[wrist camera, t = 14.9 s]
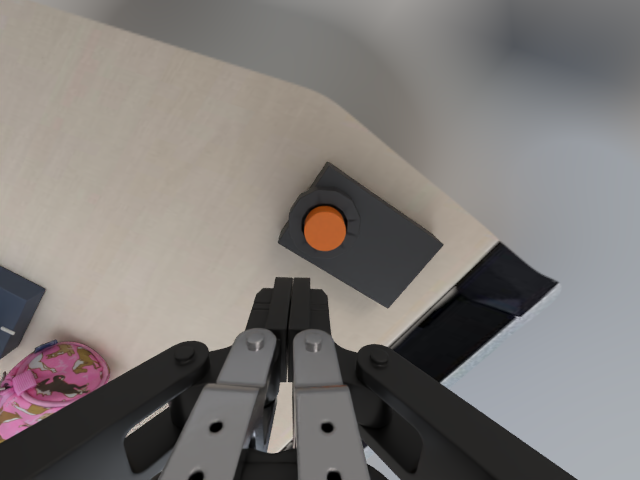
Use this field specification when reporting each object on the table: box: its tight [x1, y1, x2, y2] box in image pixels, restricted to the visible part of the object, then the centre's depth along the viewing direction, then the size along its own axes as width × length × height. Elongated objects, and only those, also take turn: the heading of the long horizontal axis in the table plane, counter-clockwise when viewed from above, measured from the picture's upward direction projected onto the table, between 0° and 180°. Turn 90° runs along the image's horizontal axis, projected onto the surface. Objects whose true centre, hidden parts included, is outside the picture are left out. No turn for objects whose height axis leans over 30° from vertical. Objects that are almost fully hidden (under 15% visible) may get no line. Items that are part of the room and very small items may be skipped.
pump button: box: [304, 206, 346, 251], centre depth 27 cm, size 4×4×2 cm
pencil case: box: [0, 340, 110, 443], centre depth 36 cm, size 21×9×9 cm, turn 140°
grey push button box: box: [278, 162, 443, 308], centre depth 31 cm, size 15×9×5 cm, turn 56°
